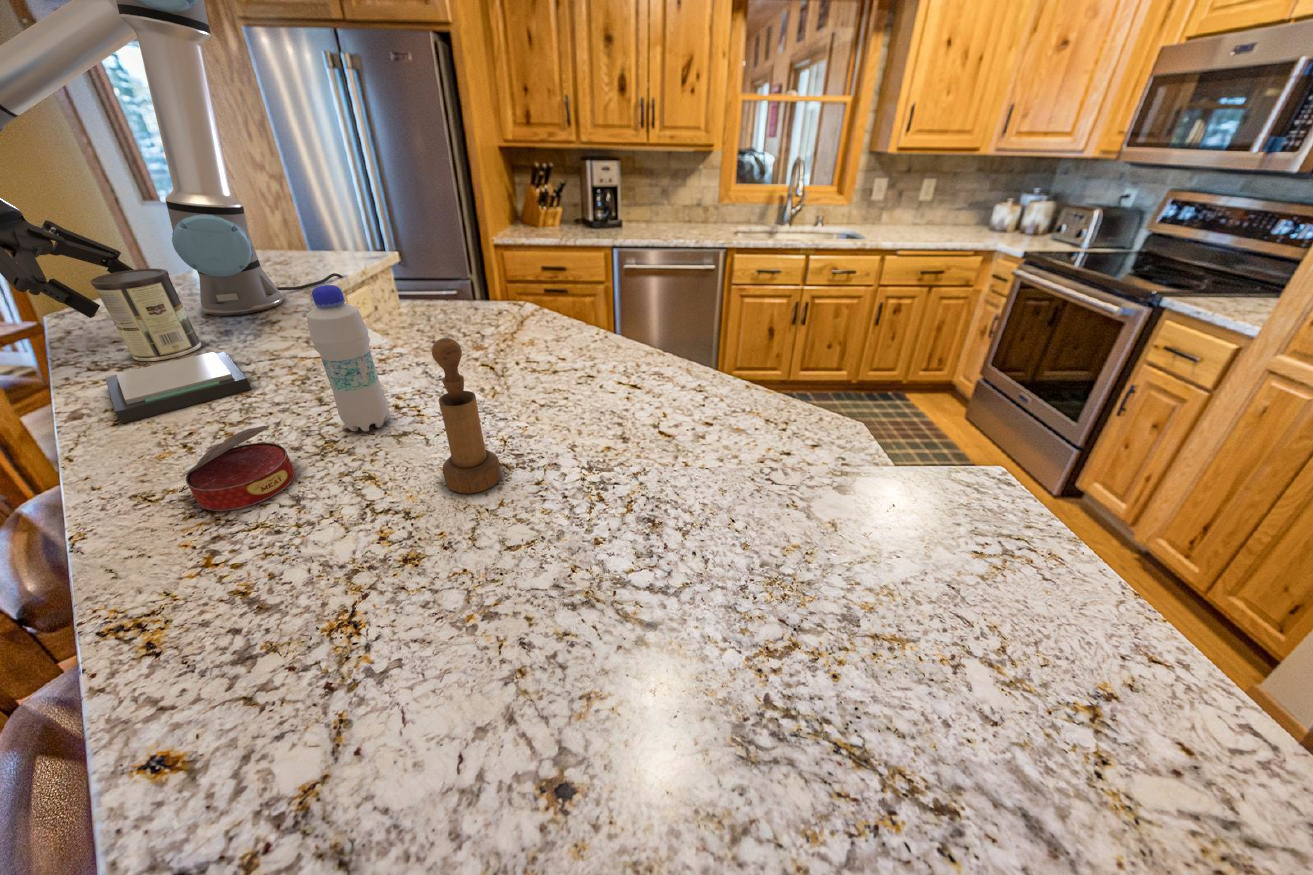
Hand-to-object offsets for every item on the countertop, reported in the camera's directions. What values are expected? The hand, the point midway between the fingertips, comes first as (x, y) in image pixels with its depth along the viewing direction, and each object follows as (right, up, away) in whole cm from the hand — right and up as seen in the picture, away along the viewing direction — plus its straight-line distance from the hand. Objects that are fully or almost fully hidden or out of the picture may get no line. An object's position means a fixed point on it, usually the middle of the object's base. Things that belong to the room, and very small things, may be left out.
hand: (125, 300), depth 94 cm
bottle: (+53, -23, -18) cm, 60 cm away
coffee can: (+3, -8, +6) cm, 10 cm away
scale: (+17, -17, -8) cm, 26 cm away
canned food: (+45, -30, -30) cm, 62 cm away
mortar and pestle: (+72, -30, -29) cm, 83 cm away
